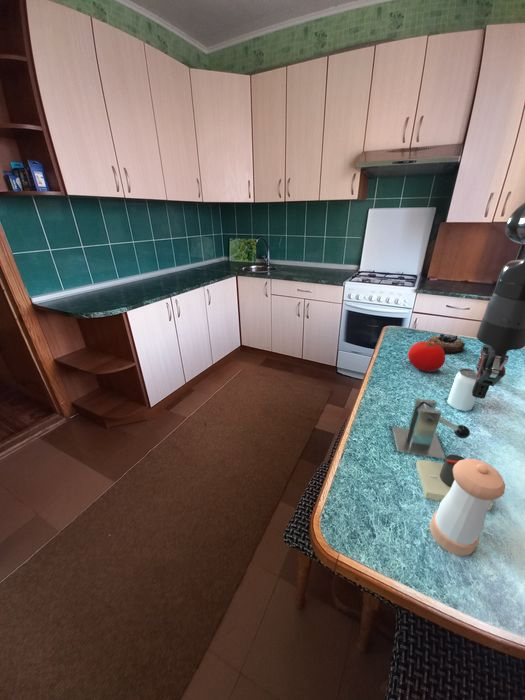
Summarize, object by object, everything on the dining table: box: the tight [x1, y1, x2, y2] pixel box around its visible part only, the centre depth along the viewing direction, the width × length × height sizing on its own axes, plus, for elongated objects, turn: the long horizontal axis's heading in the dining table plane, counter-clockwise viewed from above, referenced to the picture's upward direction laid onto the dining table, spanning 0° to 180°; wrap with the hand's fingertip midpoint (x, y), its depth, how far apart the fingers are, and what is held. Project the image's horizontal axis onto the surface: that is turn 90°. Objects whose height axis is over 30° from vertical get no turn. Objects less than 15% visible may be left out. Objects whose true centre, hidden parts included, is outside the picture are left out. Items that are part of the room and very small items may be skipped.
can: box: [446, 368, 478, 412], centre depth 87 cm, size 6×6×12 cm
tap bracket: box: [392, 398, 447, 460], centre depth 73 cm, size 11×9×13 cm
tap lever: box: [417, 403, 471, 440], centre depth 71 cm, size 13×3×3 cm, turn 77°
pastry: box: [427, 333, 466, 355], centre depth 123 cm, size 11×12×6 cm
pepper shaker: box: [429, 458, 506, 557], centre depth 50 cm, size 7×7×19 cm
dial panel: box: [415, 458, 494, 512], centre depth 63 cm, size 12×9×3 cm
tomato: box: [407, 340, 446, 372], centre depth 108 cm, size 11×12×10 cm
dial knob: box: [440, 454, 466, 487], centre depth 61 cm, size 5×5×5 cm
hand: (477, 395), depth 62 cm, fingers closed
